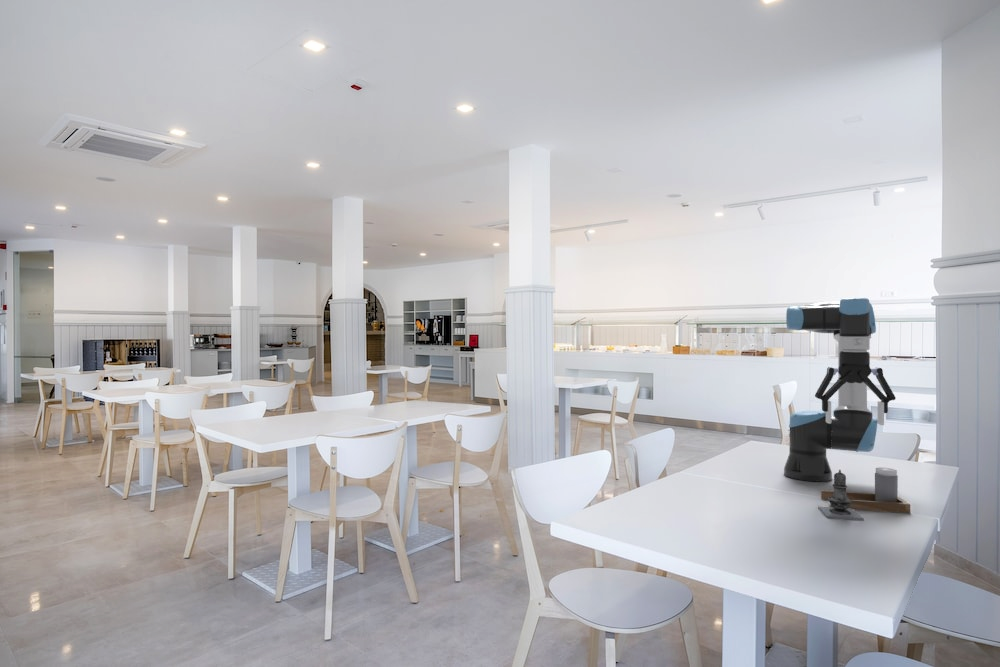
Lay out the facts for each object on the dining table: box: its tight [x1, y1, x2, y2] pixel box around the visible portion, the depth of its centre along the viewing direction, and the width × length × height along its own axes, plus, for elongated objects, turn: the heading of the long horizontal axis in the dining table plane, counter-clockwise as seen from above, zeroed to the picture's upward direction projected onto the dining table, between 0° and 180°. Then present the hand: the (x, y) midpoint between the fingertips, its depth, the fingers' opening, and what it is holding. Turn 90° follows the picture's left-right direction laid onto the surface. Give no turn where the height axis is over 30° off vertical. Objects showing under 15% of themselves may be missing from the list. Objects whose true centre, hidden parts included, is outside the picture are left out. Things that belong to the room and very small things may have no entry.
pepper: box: [874, 466, 899, 503], centre depth 170 cm, size 6×6×11 cm
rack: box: [820, 489, 911, 514], centre depth 171 cm, size 10×20×2 cm, turn 76°
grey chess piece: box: [828, 469, 852, 515], centre depth 163 cm, size 6×6×12 cm
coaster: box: [817, 505, 865, 521], centre depth 163 cm, size 9×9×1 cm
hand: (854, 423), depth 168 cm, fingers open, 13 cm apart
